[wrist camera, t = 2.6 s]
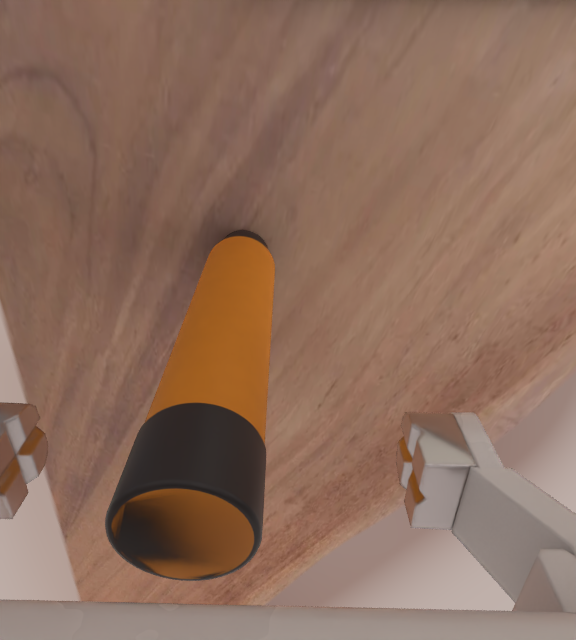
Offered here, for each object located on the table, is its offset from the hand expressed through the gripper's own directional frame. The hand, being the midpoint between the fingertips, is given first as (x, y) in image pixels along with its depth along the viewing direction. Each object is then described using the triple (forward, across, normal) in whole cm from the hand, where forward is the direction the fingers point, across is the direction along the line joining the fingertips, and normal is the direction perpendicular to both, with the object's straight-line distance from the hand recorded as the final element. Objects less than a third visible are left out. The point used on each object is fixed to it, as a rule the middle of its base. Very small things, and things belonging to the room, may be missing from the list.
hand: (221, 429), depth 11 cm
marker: (+10, 0, 0) cm, 10 cm away
